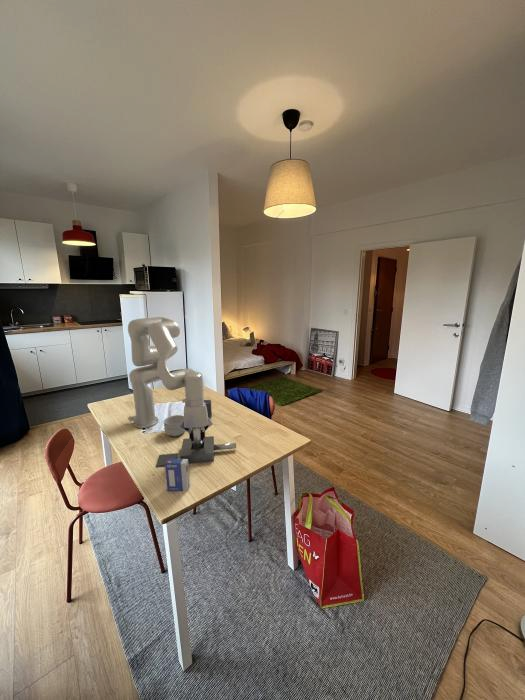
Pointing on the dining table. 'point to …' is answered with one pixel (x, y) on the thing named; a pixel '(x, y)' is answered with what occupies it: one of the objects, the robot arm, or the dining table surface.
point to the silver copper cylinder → (197, 438)
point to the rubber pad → (163, 459)
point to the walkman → (177, 474)
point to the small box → (208, 408)
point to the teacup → (174, 425)
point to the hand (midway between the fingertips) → (197, 439)
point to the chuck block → (202, 450)
